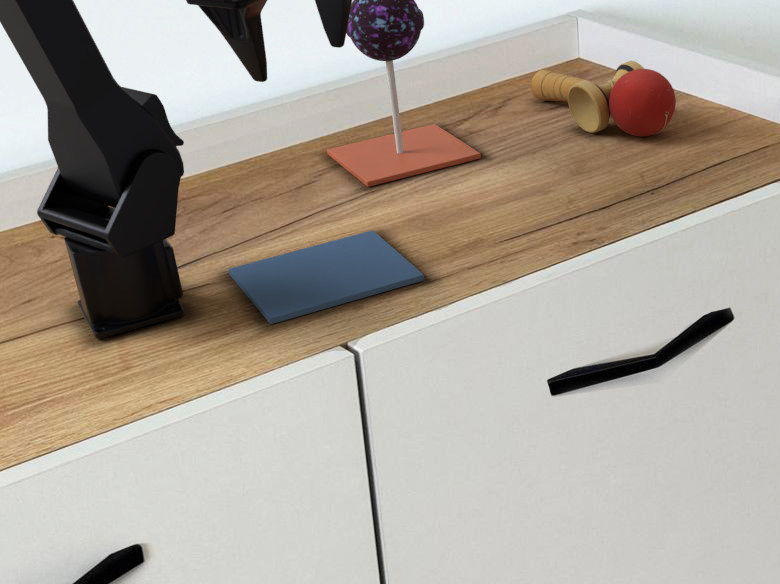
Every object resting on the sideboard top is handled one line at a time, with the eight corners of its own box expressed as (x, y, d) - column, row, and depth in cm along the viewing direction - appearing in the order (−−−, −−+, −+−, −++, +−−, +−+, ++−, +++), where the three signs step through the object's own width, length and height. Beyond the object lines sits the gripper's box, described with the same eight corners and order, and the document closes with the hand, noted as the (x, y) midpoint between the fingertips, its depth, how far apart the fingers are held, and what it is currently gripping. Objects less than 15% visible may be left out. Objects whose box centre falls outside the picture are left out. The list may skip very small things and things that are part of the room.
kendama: (509, 124, 129) (629, 143, 116) (508, 58, 128) (630, 69, 114) (571, 118, 134) (694, 135, 120) (571, 54, 132) (696, 64, 118)
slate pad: (270, 324, 93) (269, 318, 93) (229, 274, 101) (227, 268, 101) (424, 280, 98) (424, 274, 97) (373, 235, 105) (373, 229, 105)
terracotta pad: (367, 187, 114) (366, 181, 114) (327, 154, 122) (326, 149, 122) (481, 158, 118) (480, 153, 118) (435, 128, 126) (434, 123, 126)
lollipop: (394, 171, 116) (372, -1, 108) (347, 155, 120) (323, -12, 113) (453, 148, 120) (436, -19, 112) (406, 133, 124) (386, -29, 117)
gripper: (263, -122, 84) (301, 113, 92) (432, -171, 98) (453, 39, 105) (141, -127, 90) (186, 95, 98) (316, -172, 103) (344, 27, 111)
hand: (300, 63), depth 103 cm, fingers open, 9 cm apart
